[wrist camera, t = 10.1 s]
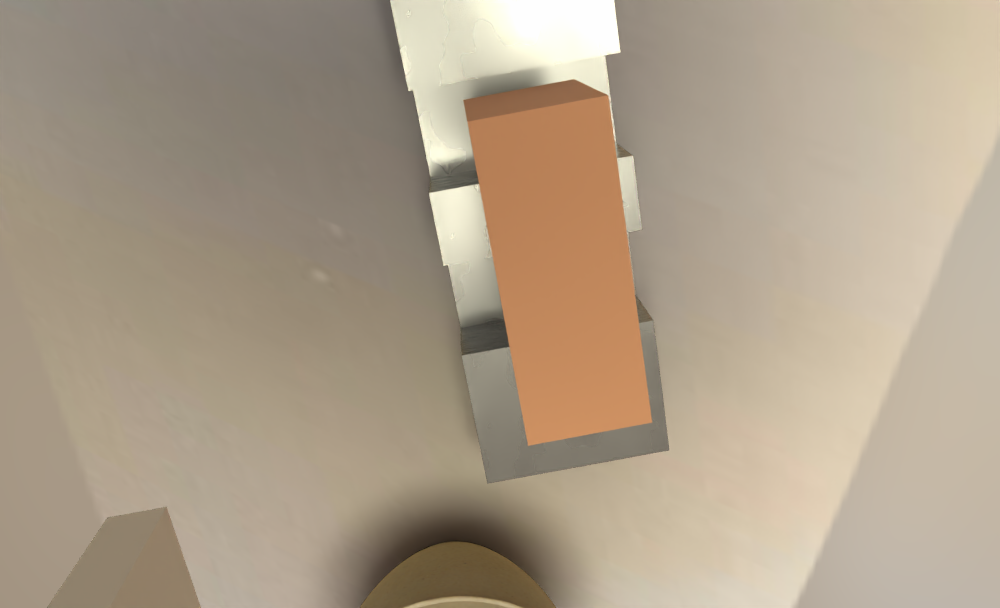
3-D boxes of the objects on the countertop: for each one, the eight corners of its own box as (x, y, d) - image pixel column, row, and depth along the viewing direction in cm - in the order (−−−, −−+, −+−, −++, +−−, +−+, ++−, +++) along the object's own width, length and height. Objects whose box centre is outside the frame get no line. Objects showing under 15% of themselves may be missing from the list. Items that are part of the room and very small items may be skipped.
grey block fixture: (381, -73, 30) (372, -85, 26) (581, -110, 30) (598, -126, 26) (483, 440, 36) (487, 483, 33) (648, 410, 36) (669, 450, 33)
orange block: (461, 88, 31) (467, 121, 21) (556, 70, 31) (608, 95, 21) (504, 320, 34) (528, 446, 24) (592, 304, 34) (652, 422, 24)
